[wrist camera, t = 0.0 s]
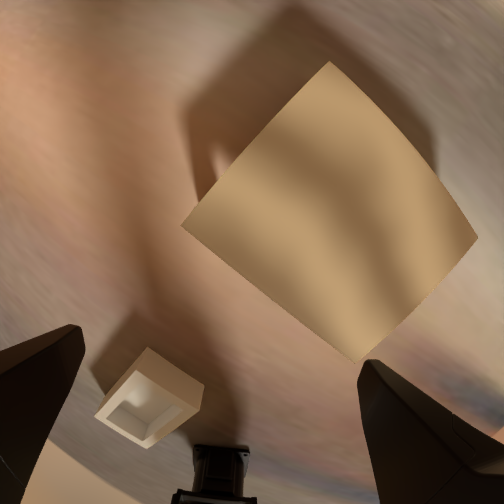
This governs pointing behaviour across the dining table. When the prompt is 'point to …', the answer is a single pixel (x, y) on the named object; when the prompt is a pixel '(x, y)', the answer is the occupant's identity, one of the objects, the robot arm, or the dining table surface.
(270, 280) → the oak shelf
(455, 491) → the robot arm
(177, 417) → the beige tray
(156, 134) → the dining table surface
